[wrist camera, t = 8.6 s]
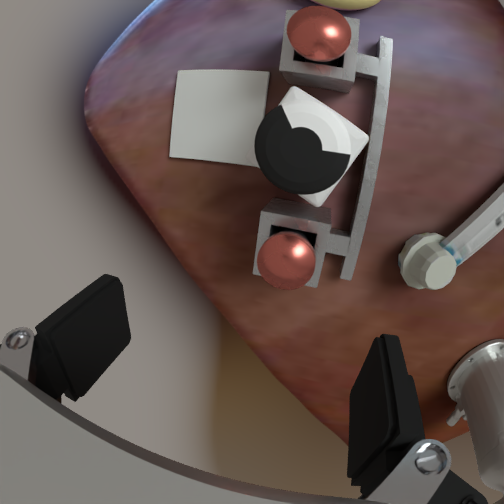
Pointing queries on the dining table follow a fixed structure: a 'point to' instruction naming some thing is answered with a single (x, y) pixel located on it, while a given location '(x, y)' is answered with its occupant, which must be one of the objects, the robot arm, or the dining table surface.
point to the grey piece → (450, 246)
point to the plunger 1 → (287, 259)
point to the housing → (320, 217)
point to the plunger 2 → (319, 34)
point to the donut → (347, 4)
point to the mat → (217, 114)
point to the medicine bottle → (305, 146)
